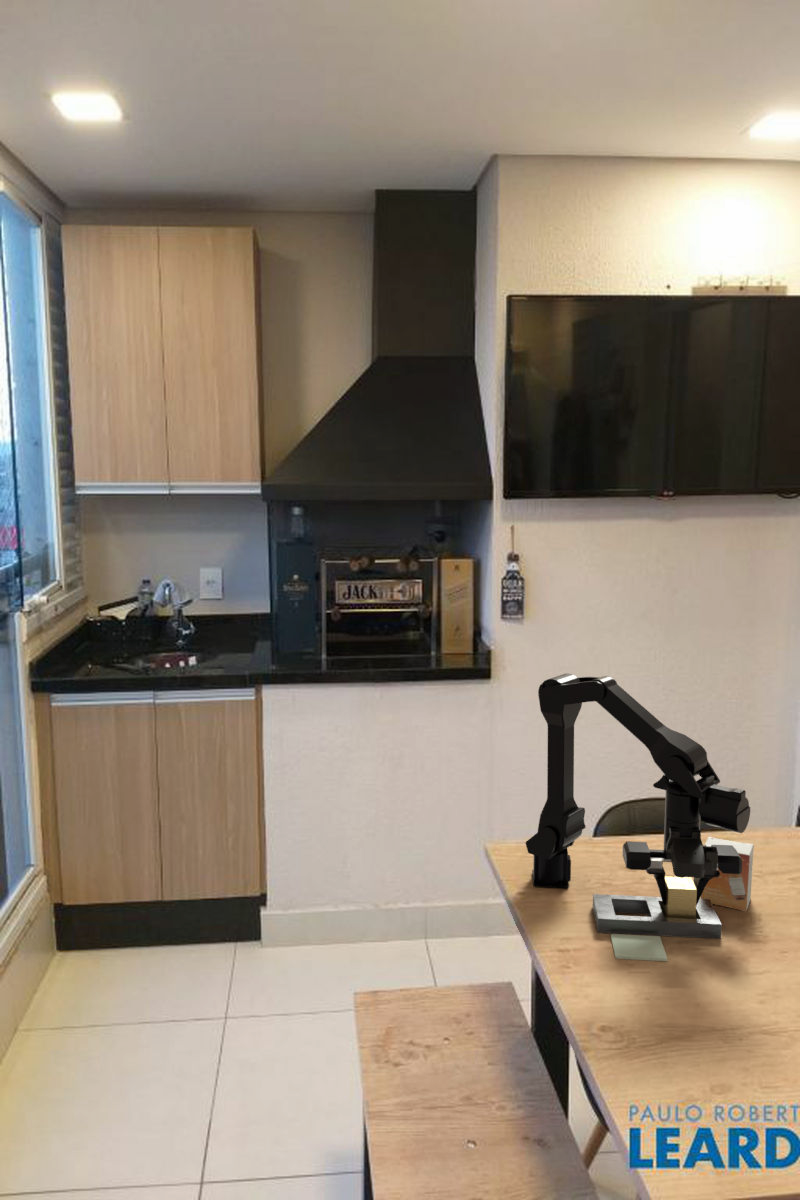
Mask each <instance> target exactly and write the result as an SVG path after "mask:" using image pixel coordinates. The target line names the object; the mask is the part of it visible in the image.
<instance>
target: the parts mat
mask: <svg viewBox="0 0 800 1200" xmlns="http://www.w3.org/2000/svg"><path fill="white" fill-rule="evenodd" d="M610 939H611V944H612V945H611V946H612V948H613V953H614V957H615V959H618V960H637V961H653V962H656V961H657V962H668V957H667V953H666V950H665V946H664V945H663V941H662V939H661V936H655V935H634V934H614V933H610Z"/></svg>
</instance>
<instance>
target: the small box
mask: <svg viewBox="0 0 800 1200" xmlns="http://www.w3.org/2000/svg"><path fill="white" fill-rule="evenodd" d="M704 845H706V846H709V847H711V845H732V846H733V847H734V848H735V849H736V851H737V852H738V854H739V856H740V857H741V859H742V873H740V874H725V873H722V872H721V871H720V870H719V869H718V871H719V873H720V876H719V877H714V878H712V879H711V880H709V882H708V883H707V885H706V886H705V888H704V890H703V892H702V895H701V897H700V899H710V901H711V903H712V905H717V906H721V907H727V908H730V909H735V910H740V911H742V912H747V910H748V908H749V905H750V902H751V895H752V881H753V880H752V879H753V865H754V863H753V861H754V846H755V845H754V844H753V843H747V842H746V843H745V842H741V841H740V842H739V841H734V840H727V839H721V838H716V837H713V836H708V837H707V838H706V842H705V844H704Z"/></svg>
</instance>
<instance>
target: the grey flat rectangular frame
mask: <svg viewBox="0 0 800 1200" xmlns="http://www.w3.org/2000/svg"><path fill="white" fill-rule="evenodd" d="M592 909H593V910H592V911H593V915H594V919H595V920H594V921H595V925H596V930H597V933H599V934H600V933H601V934H620V935H640V936H660V937H676V938H677V937H679V938H696V939H697V938H698V939H719V940H721V939H722V929H723V928H722V922H721V920H720V918H719V916H718V914H717V912H716V909H715V907H714V904H712V903H711V901H710V899H701V898H700V899H699V901H698V903H697V906H696V919H685V918H664V916H663V902H662V898H661V896H646V895H627V894H626V895H621V894H603V893H602V894H601V893H600V894H599V893H593V894H592ZM616 913H621V915H619V914H618V915H617V914H616ZM622 914H638V916H637V915H622ZM639 914H642V915H643V914H644V915H645V916H642V915H641V916H639Z"/></svg>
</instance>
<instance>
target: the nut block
mask: <svg viewBox="0 0 800 1200" xmlns="http://www.w3.org/2000/svg"><path fill="white" fill-rule="evenodd" d="M693 881H694V879H693V877H684V878H680V877H677V876H666V875H665V885H666V897H667V898H666V905H663V916H664V918H685V919H696V899H697V889H696V887H695V884H694V882H693Z"/></svg>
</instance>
